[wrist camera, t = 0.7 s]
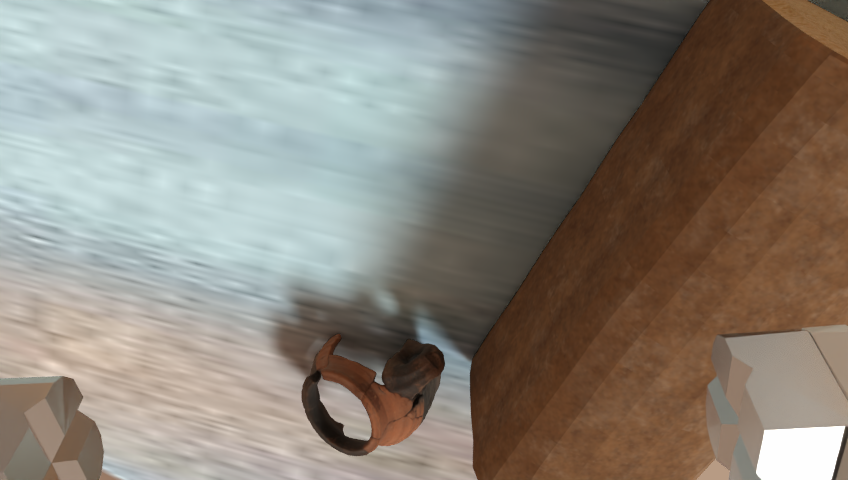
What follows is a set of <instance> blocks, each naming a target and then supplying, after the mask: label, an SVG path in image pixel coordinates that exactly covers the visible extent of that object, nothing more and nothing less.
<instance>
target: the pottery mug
mask: <svg viewBox="0 0 848 480" xmlns="http://www.w3.org/2000/svg"><path fill="white" fill-rule="evenodd" d="M341 338H342V337H341V335H340V334H337V335H335V336H333V337H332V338H330V339H329V340H328V342H327V343H325V344H324V345H323V347H322V349H321V350H320V351H319V353H318V354H317V355H316V356H315V359H314V363H313V366H312V369H311V374H310V376H308V377H307V378H306V379H305V382H304V384H303V389H302V403H303V407H304V408H305V413H306V415H307V418H308V420H309V421H310V423H311V425H312V426H313V428H314V429H315V431H316V432H317V433H318V435H319V436H320V437H321V438H322V439H323V440H324V441H325V442H326V443H328V444H330V446H332V447H333V448H335V449H336V450H338V451H340V452H342V453H345V454H347V455H352V456H363V455H367V454H368V453H369V452H372V451H373V450H375V449H376V447H377V446H378V445H380V446H390V445H394V444H397V443H399V442H401V441H403V440H404V439H406V438H407V437H409V436H410V435H411V434H412V433H413V431H415V430H416V429H417V428H418V427H419V425H420V424H421V423H422V421H423V420H424V419H425V417H426V414H427V413H428V410H429V409H430V407H431V405H432V402H433V399H434V396H435V393H436V391H437V389H438V387H439V384H440V378H441V372H442V371H443V369H444V366H445V361H444V355H443V353H442V352H441V351H440V350H439V349H438V348H437V347H436V346H435V345H432V344H421V343H419V342H417V341H415V340H412V339H408V340H407V341H406V343H405V344H404V345H403V347H402V349H401V350H400V352H397V353H396V354H395V355H394V356H393V357H392V358H390V359H389V360H388V361H387V363H386V365H385V368H384V370H383V372H382V381H383V383H384V385H380V384H378V383H377V382H375V381H374V379H375V377H376V372H375V371H373V370H371V369H369V368H367V367H365V366H363V365H361V364H359V363H357V362H354V361H351V360H348V359H346V358H344V357H341V356H338V355H333V352H334V349H335V347H336V346H337V344H338V343H339V342H340V340H341ZM321 374H322V376H323V379H324V380H328V381H333V382H336V383H339V384H341V385H343V386H344V387H346V388H347V389H348V390H350V391H351V392H352V393H353V394H354V395H355V396H356V397H358V399H360V400H361V402H362V404H363V405H364V407H365V409H366V411H367V413H368V415H369V418H370V421H371V427H372V434H371V437H370V439H369V440H368V441H364V440H358V439H353V438H349V437H347V436H345V435H344V433H343V427H344V425H343V424H341V423H338V422H336V421H335V420H333V418H331V417H330V415H329V414H328V412H327V410H326V408H325V407H324V405H323V404H322V402H321V401H320V395H319V391H318V387H317V383H318V382H319V380H320V378H321ZM417 393H418V395H417V397H416V399H414V401H413V400H412V399H413V398H414V397H415V395H416V394H417Z"/></svg>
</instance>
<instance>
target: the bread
mask: <svg viewBox="0 0 848 480" xmlns="http://www.w3.org/2000/svg"><path fill="white" fill-rule="evenodd" d="M832 325H847V326H848V22H847V21H845V20H843V19H841V18H839V17H838V16H836V15H834V14H832V13H830V12H828V11H826V10H824V9H822V8H821V7H819V6H817V5H815V4H813V3H811V2H809V1H808V0H710V1H709V3H708V4H707V6H706V7H705V8H704V10H703V11H702V13H701V14H700V16H699V17H698V19H697V20H696V22H695V23H694V25H693V26H692V28H691V29H690V31H689V32H688V34H687V35H686V37H685V38H684V40H683V42H682V43H681V45H680V46H679V48H678V49H677V51H676V52H675V54H674V55H673V57H672V58H671V60H670V61H669V63H668V65H667V66H666V68H665V69H664V71H663V72H662V74H661V75H660V77H659V78H658V80H657V81H656V83H655V84H654V86H653V87H652V89H651V90H650V92H649V93H648V95H647V96H646V98H645V99H644V101H643V102H642V104H641V106H640V107H639V108H638V110H637V111H636V113H635V114H634V116H633V117H632V118H631V120H630V121H629V123H628V124H627V126H626V127H625V128H624V130H623V131H622V133H621V134H620V135H619V137H618V138H617V140H616V141H615V143H614V145H613V146H612V148H611V149H610V151H609V152H608V154H607V155H606V157H605V158H604V160H603V161H602V163H601V164H600V166H599V168H598V169H597V171H596V172H595V174H594V176H593V177H592V179H591V180H590V182H589V184H588V185H587V187H586V188H585V190H584V192H583V193H582V195H581V196H580V198H579V199H578V201H577V202H576V204H575V205H574V206H573V208H572V209H571V211H570V212H569V213H568V215H567V216H566V218H565V219H564V220H563V222H562V223H561V225H560V226H559V228H558V229H557V231H556V232H555V234H554V235H553V237H552V238H551V240H550V241H549V243H548V244H547V246H546V247H545V249H544V250H543V252H542V253H541V255H540V256H539V258H538V260H537V261H536V263H535V264H534V266H533V268H532V269H531V271H530V272H529V274H528V275H527V277H526V279H525V280H524V282H523V283H522V285H521V286H520V288H519V289H518V291H517V293H516V294H515V296H514V297H513V299H512V300H511V302H510V303H509V305H508V306H507V307H506V309H505V310H504V312H503V313H502V315H501V316H500V317H499V319H498V320H497V322H496V323H495V325H494V326H493V328H492V329H491V331H490V332H489V334H488V335H487V337H486V338H485V340H484V342H483V343H482V345H481V347H480V348H479V350H478V351H477V353H476V354H475V356H474V358H473V359H472V364H471V370H470V399H471V419H472V430H473V468H474V471H475V474H476V476H477V479H478V480H696V479H697V478H698V477H699V476H700V475H701V474H702V473H703V472H704V471H705V469H706V468H707V467H708V466H709V465H710V464H711V463H712V462H713V461H714V460H715V459H716V457H715V454H714V451H713V448H712V445H711V442H710V437H709V433H708V429H707V418H706V395H707V385H708V384H709V383H710V382H711V381H712V380H713V379H714V378H715V377H717V373H716V371H715V368H714V365H713V363H712V360H711V355H712V348H713V343H714V340H715V338H716V336H717V334H731V333H745V332H759V331H773V330H787V329H802V328H807V327H820V326H832Z"/></svg>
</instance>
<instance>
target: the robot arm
mask: <svg viewBox="0 0 848 480" xmlns="http://www.w3.org/2000/svg"><path fill="white" fill-rule="evenodd" d="M711 360H712V363H713V365H714V368H715V371H716V373H717V377H715V378H714V379H713V380H712V381H711V382H710V383H709V384H708V385H707V395H706V418H707V429H708V433H709V437H710V442H711V445H712V448H713V451H714V454H715V457H716V460H717V461H718V462H719V463H721V464H722V465H723V466H725V467H726V468H727V469H728V470H730V475H729V480H848V326H847V325H832V326H820V327H807V328H802V329H787V330H773V331H759V332H745V333H731V334H717V336H716V338H715V340H714V343H713V348H712V355H711ZM82 399H83V396H82V394H81V392H80V390H79V389H78V387H77V385H76V383H75V381H74V379H71V378H68V377H64V376H56V377H31V378H5V379H0V480H99V478H100V476H101V472H102V463H103V454H104V450H103V445H102V439H101V434H100V432H99V430H98V428H97V426H96V423H95V421H93V420H92V419H90V418H89V417H87V416H86V415H84V414H83V413H81V412H80V411H78V408H79V406H80V403H81V401H82Z"/></svg>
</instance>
